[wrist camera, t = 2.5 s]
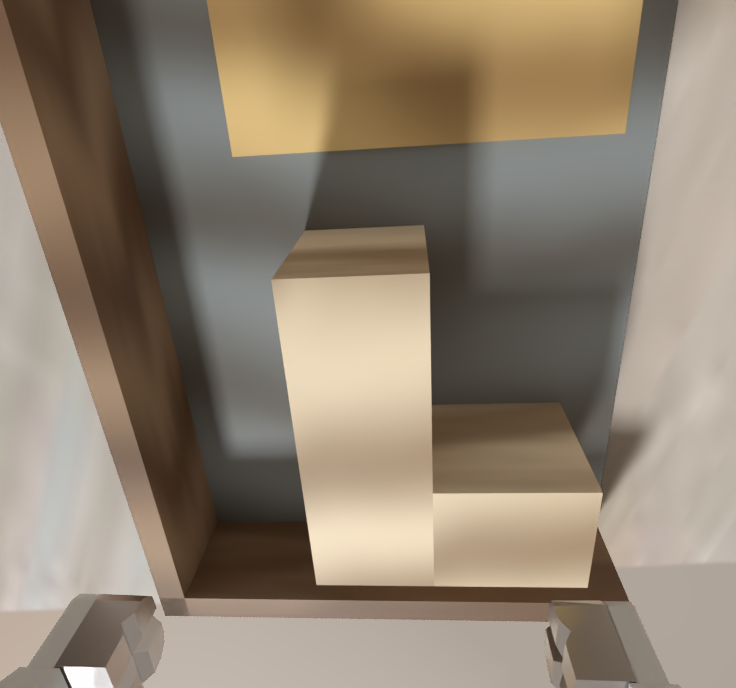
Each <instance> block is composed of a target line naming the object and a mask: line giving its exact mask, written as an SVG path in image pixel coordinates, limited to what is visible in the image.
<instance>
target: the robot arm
mask: <svg viewBox="0 0 736 688" xmlns="http://www.w3.org/2000/svg"><path fill="white" fill-rule="evenodd" d="M155 609H156V605H155V603H154V600H153V598H152V596H133V595H110V594H79V595H78V596H77V597H75V598H74V599H73V600H72V601H71V602H70V604H69V605H68V607H67V608H66V610H65V611H64V613H63V614H62V616H61V617H60V619H59V620H58V622H57V623H56V625H55V626H54V628H53V629H52V631H51V632H50V634H49V635H48V637H47V638H46V640H45V641H44V643H43V644H42V646H41V647H40V649H39V650H38V652H37V653H36V655H35V656H34V657H33V659H32V660H31V662H30V664H29V665H28V666H27V667H20V668H18V669H17V670H15V671H14V672H13V673H11V674H10V675H9V676H7V677H6V678H5V679H3V680H2V681H0V688H144V686H143V682H144V681H145V680H147V679H148V678H149V677H150V676H151V675H152V674H153V673H155V671H156V669H157V666H158V664H159V661H160V659H161V654H162V650H163V645H164V631H163V627H162V624H161V622H160V621H158V620H157V619H156V618H155V617H154V616H153V613H154V611H155ZM547 614H548V618H549V622H550V626H549V627H548V628H547V629H546V631H545V655H546V662H547V667H548V672H549V677H550V681H551V683H552V684H553V685H554V686H555V687H556V688H682V687H680V686H679V685H678V684H669V682H668V679H667V677H666V675H665V673H664V670H663V668H662V666H661V664H660V662H659V659H658V657H657V655H656V653H655V650H654V648H653V646H652V644H651V642H650V639H649V637H648V635H647V633H646V631H645V629H644V626H643V624H642V622H641V619H640V618H639V615H638V613H637V611H636V608H635V606H634V605H633V604H632V603H631V602H629V601H550V603H549V605H548V612H547Z"/></svg>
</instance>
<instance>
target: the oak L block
mask: <svg viewBox="0 0 736 688" xmlns="http://www.w3.org/2000/svg"><path fill="white" fill-rule="evenodd" d="M271 283H272V289H273V296H274V303H275V310H276V316H277V323H278V330H279V336H280V343H281V350H282V357H283V363H284V370H285V377H286V383H287V390H288V397H289V404H290V410H291V417H292V424H293V430H294V437H295V444H296V450H297V457H298V464H299V471H300V477H301V484H302V491H303V497H304V504H305V511H306V518H307V524H308V531H309V538H310V544H311V551H312V558H313V565H314V571H315V578H316V585H364V586H461V587H558V588H588V582H589V576H590V570H591V564H592V557H593V551H594V545H595V539H596V533H597V527H598V520H599V514H600V508H601V502H602V496H603V492H602V490H601V488H600V486H599V483H598V481H597V479H596V477H595V475H594V473H593V471H592V469H591V467H590V465H589V462H588V460H587V458H586V456H585V454H584V452H583V450H582V448H581V446H580V444H579V442H578V439H577V437H576V435H575V433H574V431H573V429H572V427H571V425H570V423H569V421H568V418H567V416H566V414H565V412H564V410H563V408H562V406H561V404H560V402H554V403H500V404H447V405H432V401H431V331H430V272H429V263H428V255H427V246H426V238H425V230H424V225H413V226H392V227H371V228H350V229H329V230H308V231H304V232H303V234H302V235H301V237H300V238H299V240H298V241H297V243H296V244H295V246H294V247H293V248H292V250H291V251H290V253H289V254H288V256H287V257H286V259H285V260H284V261H283V263H282V264H281V266H280V267H279V269H278V270H277V272H276V273H275V275H274V276H273V277H272V279H271Z"/></svg>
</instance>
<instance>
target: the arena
mask: <svg viewBox="0 0 736 688" xmlns="http://www.w3.org/2000/svg"><path fill="white" fill-rule="evenodd" d="M677 5H678V0H0V122H1V125H2V128H3V131H4V134H5V137H6V140H7V143H8V146H9V149H10V152H11V155H12V158H13V161H14V164H15V167H16V170H17V173H18V176H19V179H20V182H21V185H22V188H23V191H24V194H25V197H26V200H27V203H28V206H29V209H30V212H31V215H32V218H33V221H34V224H35V227H36V230H37V233H38V236H39V239H40V242H41V245H42V248H43V251H44V254H45V257H46V260H47V263H48V266H49V269H50V272H51V275H52V278H53V281H54V284H55V287H56V290H57V293H58V296H59V299H60V302H61V305H62V308H63V311H64V314H65V317H66V320H67V323H68V326H69V329H70V332H71V335H72V338H73V341H74V344H75V347H76V350H77V353H78V356H79V359H80V362H81V365H82V368H83V371H84V374H85V377H86V380H87V383H88V386H89V389H90V392H91V395H92V398H93V401H94V404H95V407H96V410H97V413H98V416H99V419H100V422H101V425H102V428H103V430H104V433H105V436H106V439H107V442H108V445H109V448H110V451H111V454H112V457H113V460H114V463H115V466H116V469H117V472H118V475H119V478H120V481H121V484H122V487H123V490H124V493H125V496H126V499H127V502H128V505H129V508H130V511H131V514H132V517H133V520H134V523H135V526H136V529H137V532H138V535H139V538H140V541H141V544H142V547H143V550H144V553H145V556H146V559H147V562H148V565H149V568H150V571H151V574H152V577H153V580H154V583H155V586H156V589H157V592H158V595H159V598H160V601H161V604H162V607H163V610H164V613H165V615H166V616H221V617H286V618H287V617H288V618H349V619H354V618H355V619H412V620H414V619H415V620H419V619H420V620H475V621H476V620H477V621H539V622H540V621H541V622H542V621H543V622H549V618H548V614H547V612H548V605H549V603H550V601H629V600H628V597H627V595H626V593H625V590H624V588H623V586H622V583H621V581H620V579H619V577H618V574H617V572H616V569H615V567H614V564H613V562H612V560H611V557H610V555H609V553H608V550H607V548H606V546H605V543H604V541H603V539H602V536H601V534H600V532H599V529H598V527H597V533H596V539H595V545H594V551H593V557H592V564H591V570H590V576H589V582H588V588H558V587H461V586H364V585H316V578H315V571H314V565H313V558H312V551H311V544H310V538H309V531H308V524H307V518H306V511H305V504H304V497H303V491H302V484H301V477H300V471H299V464H298V457H297V450H296V444H295V437H294V430H293V424H292V417H291V410H290V404H289V397H288V390H287V383H286V377H285V370H284V363H283V357H282V350H281V343H280V336H279V330H278V323H277V316H276V310H275V303H274V296H273V289H272V283H271V279H272V277H273V276H274V275H275V273H276V272H277V270H278V269H279V267H280V266H281V264H282V263H283V261H284V260H285V259H286V257H287V256H288V254H289V253H290V251H291V250H292V248H293V247H294V246H295V244H296V243H297V241H298V240H299V238H300V237H301V235H302V234H303V232H304V231H308V230H329V229H350V228H371V227H392V226H413V225H424V230H425V238H426V246H427V255H428V263H429V272H430V331H431V401H432V405H447V404H500V403H554V402H560V404H561V406H562V408H563V410H564V412H565V414H566V416H567V418H568V421H569V423H570V425H571V427H572V429H573V431H574V433H575V435H576V437H577V439H578V442H579V444H580V446H581V448H582V450H583V452H584V454H585V456H586V458H587V460H588V462H589V465H590V467H591V469H592V471H593V473H594V475H595V477H596V479H597V481H598V483H599V486H600V488H601V483H602V476H603V470H604V464H605V458H606V451H607V445H608V439H609V432H610V426H611V420H612V414H613V407H614V401H615V395H616V388H617V382H618V376H619V370H620V363H621V357H622V351H623V344H624V338H625V332H626V326H627V319H628V313H629V307H630V300H631V294H632V288H633V282H634V275H635V269H636V263H637V257H638V250H639V244H640V238H641V231H642V225H643V219H644V213H645V206H646V200H647V194H648V187H649V181H650V175H651V169H652V162H653V156H654V150H655V143H656V137H657V131H658V125H659V118H660V112H661V106H662V99H663V93H664V87H665V81H666V74H667V68H668V62H669V55H670V49H671V43H672V37H673V30H674V24H675V18H676V12H677Z"/></svg>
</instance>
